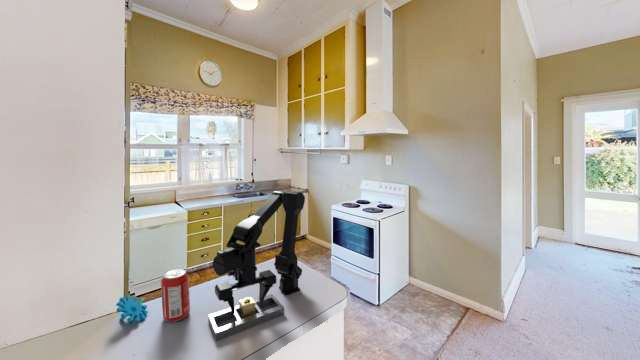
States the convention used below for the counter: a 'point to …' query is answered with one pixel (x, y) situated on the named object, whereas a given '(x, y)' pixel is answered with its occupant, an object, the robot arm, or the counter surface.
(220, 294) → the robot arm
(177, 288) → the soda can
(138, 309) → the gear
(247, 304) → the brass block
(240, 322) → the tray
